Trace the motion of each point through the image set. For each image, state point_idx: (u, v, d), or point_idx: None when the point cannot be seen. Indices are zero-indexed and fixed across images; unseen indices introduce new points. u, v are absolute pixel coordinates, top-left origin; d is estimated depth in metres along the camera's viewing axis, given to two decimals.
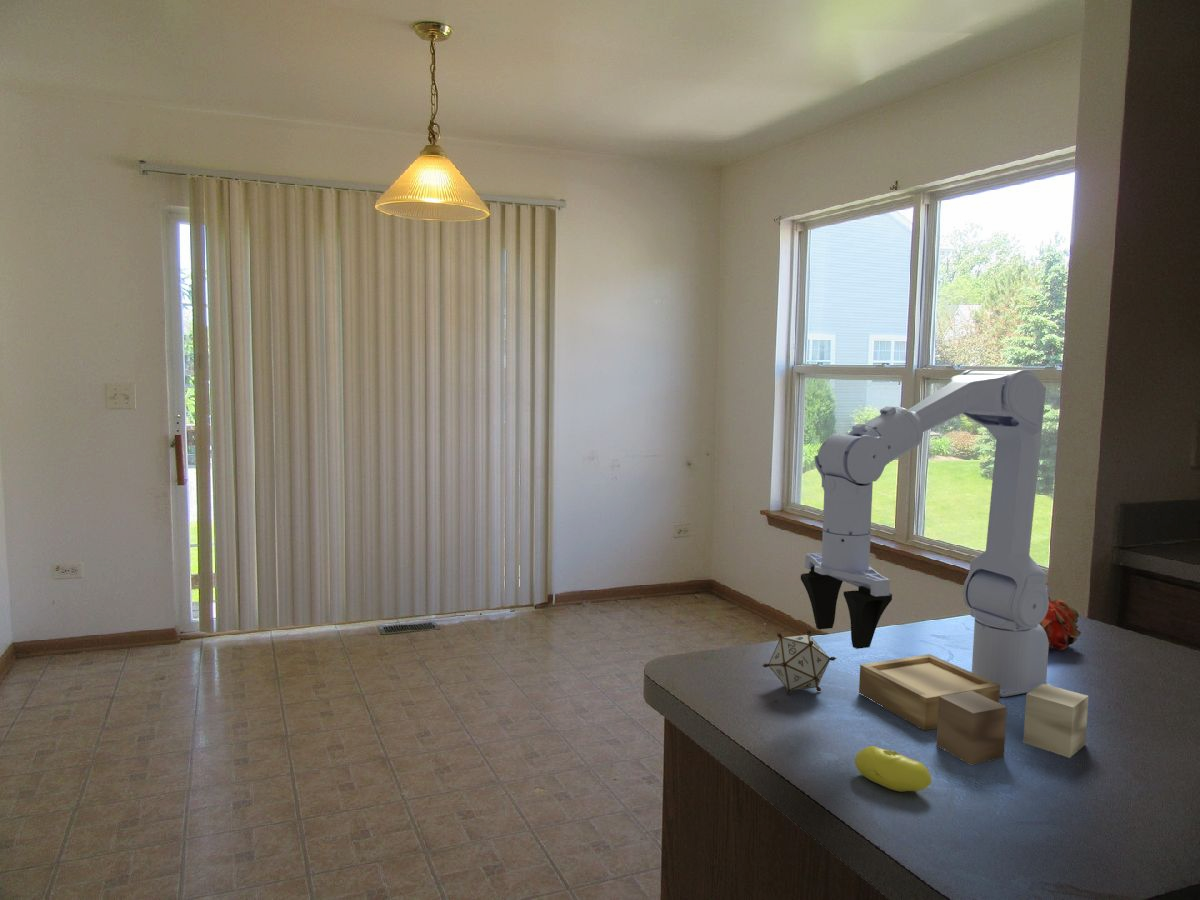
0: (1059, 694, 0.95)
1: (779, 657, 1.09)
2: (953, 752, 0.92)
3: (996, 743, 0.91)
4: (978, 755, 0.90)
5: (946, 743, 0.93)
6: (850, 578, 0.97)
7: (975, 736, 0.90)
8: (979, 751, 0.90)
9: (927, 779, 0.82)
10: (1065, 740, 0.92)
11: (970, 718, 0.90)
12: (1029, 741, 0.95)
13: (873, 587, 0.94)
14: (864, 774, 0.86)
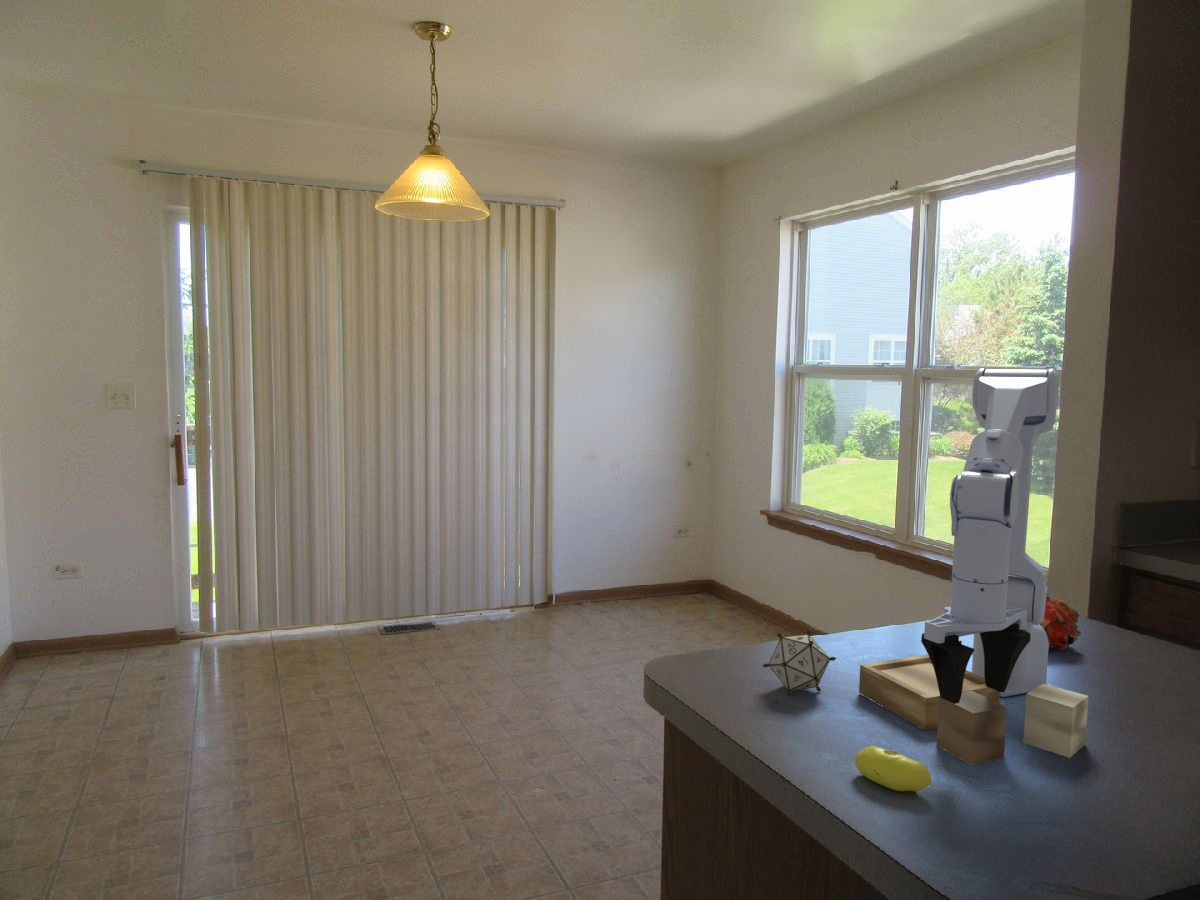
0: (1059, 694, 0.95)
1: (779, 657, 1.09)
2: (953, 752, 0.92)
3: (996, 743, 0.91)
4: (978, 755, 0.90)
5: (946, 743, 0.93)
6: None
7: (975, 736, 0.90)
8: (979, 751, 0.90)
9: (927, 779, 0.82)
10: (1065, 740, 0.92)
11: (970, 718, 0.90)
12: (1029, 741, 0.95)
13: None
14: (864, 773, 0.86)
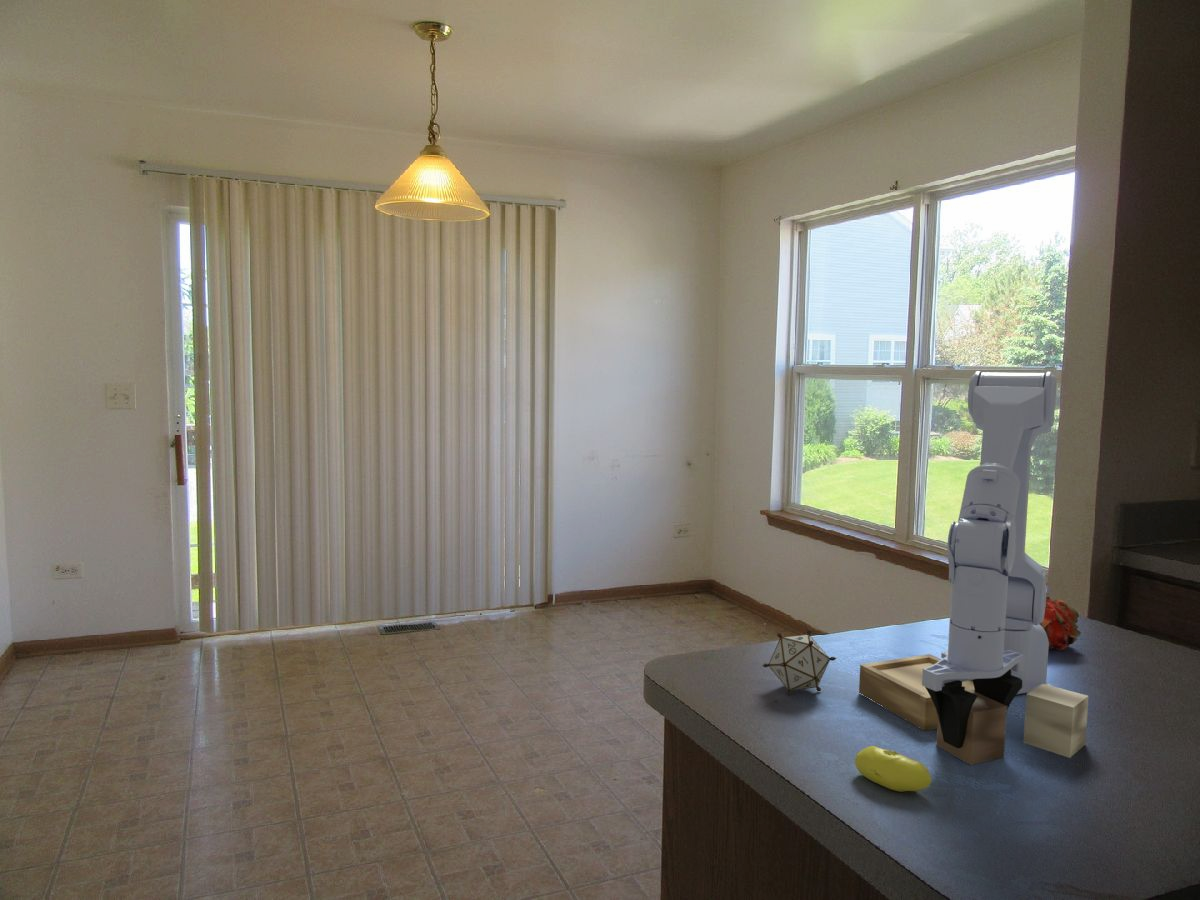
0: (1059, 694, 0.95)
1: (779, 657, 1.09)
2: (953, 751, 0.92)
3: (996, 743, 0.91)
4: (978, 755, 0.90)
5: None
6: None
7: (975, 735, 0.90)
8: (979, 750, 0.90)
9: (927, 779, 0.82)
10: (1065, 740, 0.92)
11: (970, 718, 0.90)
12: (1029, 741, 0.95)
13: None
14: (864, 774, 0.86)
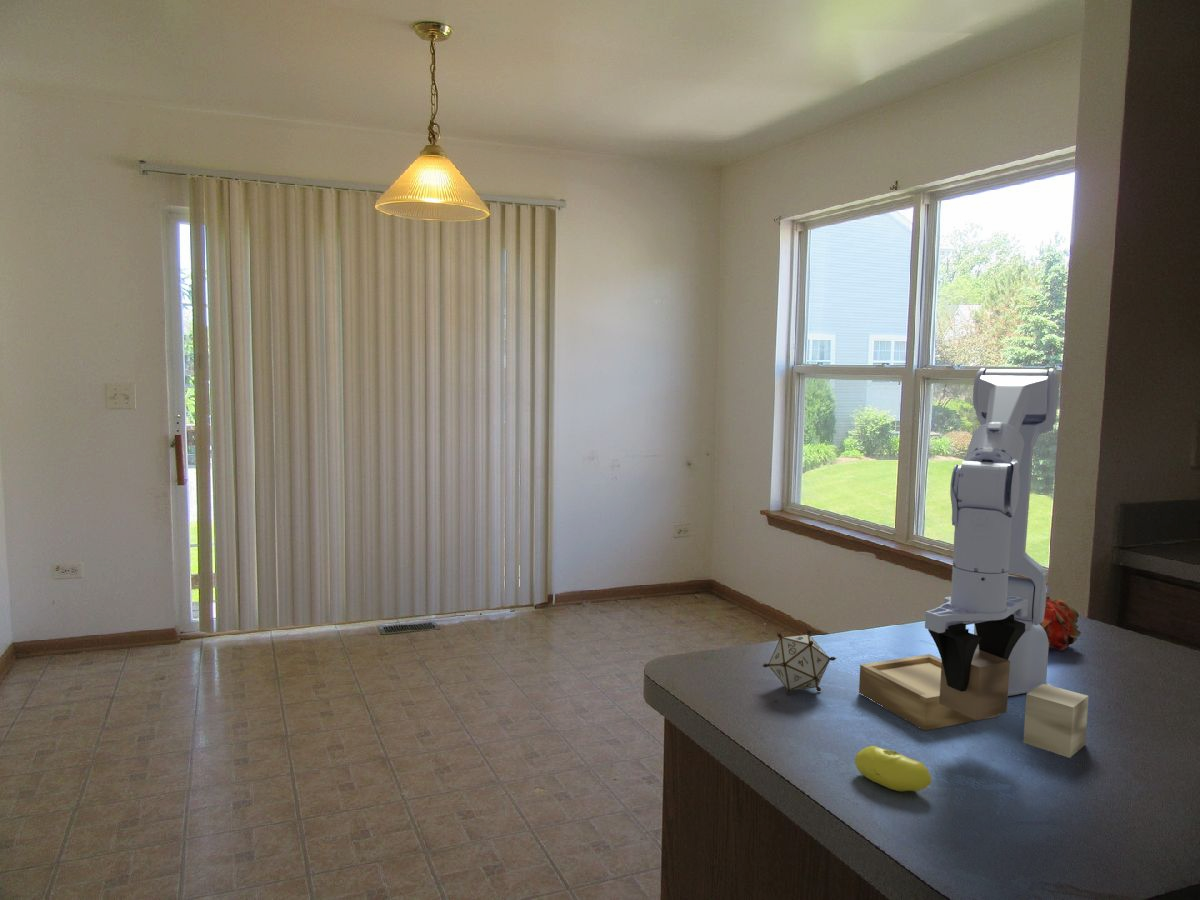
0: (1059, 694, 0.95)
1: (779, 657, 1.09)
2: (957, 708, 0.91)
3: (1000, 698, 0.91)
4: (983, 710, 0.90)
5: (950, 699, 0.92)
6: None
7: (981, 690, 0.89)
8: (984, 706, 0.90)
9: (927, 779, 0.82)
10: (1065, 740, 0.92)
11: (976, 673, 0.89)
12: (1029, 741, 0.95)
13: None
14: (864, 773, 0.86)
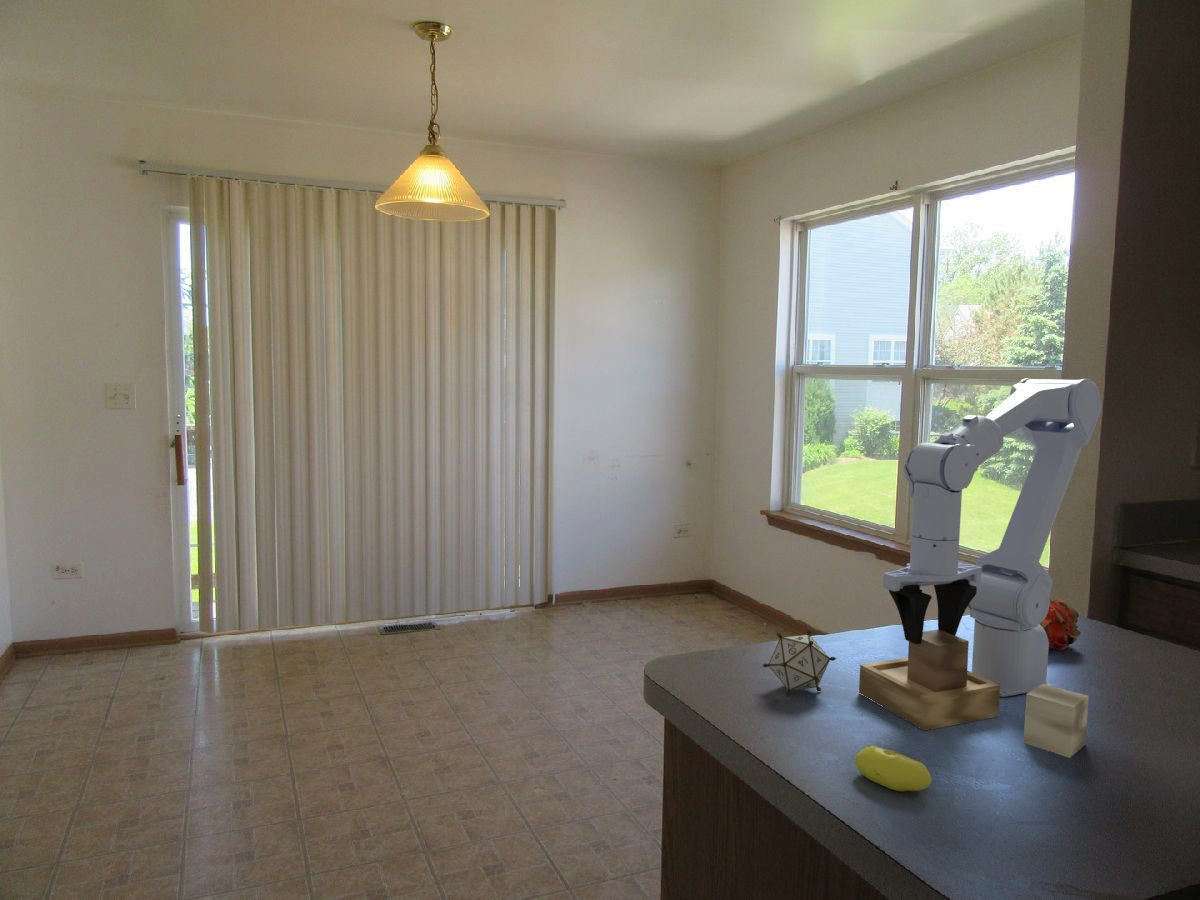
0: (1059, 694, 0.95)
1: (779, 657, 1.09)
2: (921, 682, 1.03)
3: (960, 673, 1.02)
4: (943, 684, 1.01)
5: (916, 674, 1.04)
6: None
7: (940, 666, 1.01)
8: (944, 680, 1.01)
9: (927, 779, 0.82)
10: (1065, 740, 0.92)
11: (935, 651, 1.01)
12: (1029, 741, 0.95)
13: None
14: (864, 773, 0.86)
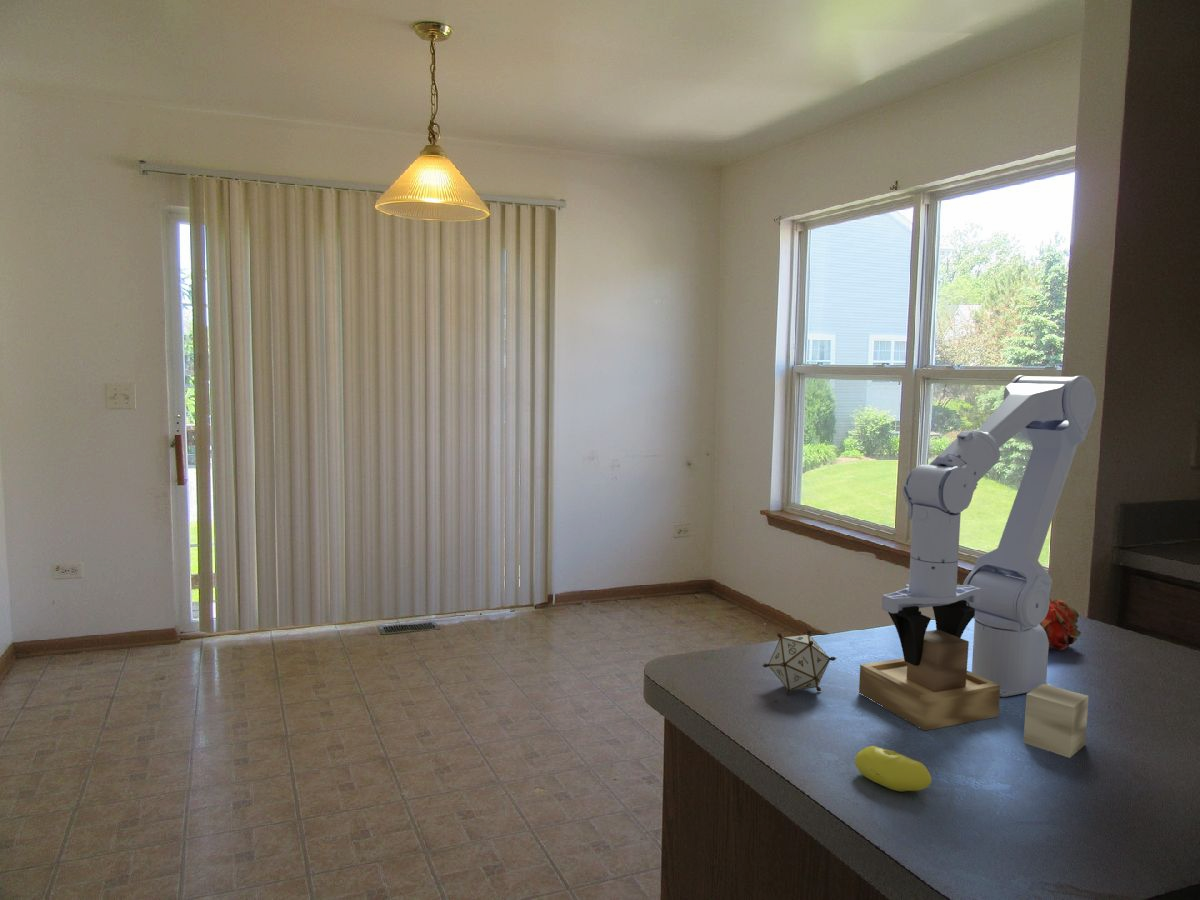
0: (1059, 694, 0.95)
1: (779, 657, 1.09)
2: (921, 682, 1.03)
3: (959, 674, 1.02)
4: (942, 684, 1.01)
5: (915, 674, 1.04)
6: None
7: (939, 666, 1.01)
8: (943, 680, 1.01)
9: (927, 779, 0.82)
10: (1065, 740, 0.92)
11: (935, 650, 1.01)
12: (1029, 741, 0.95)
13: None
14: (864, 774, 0.86)
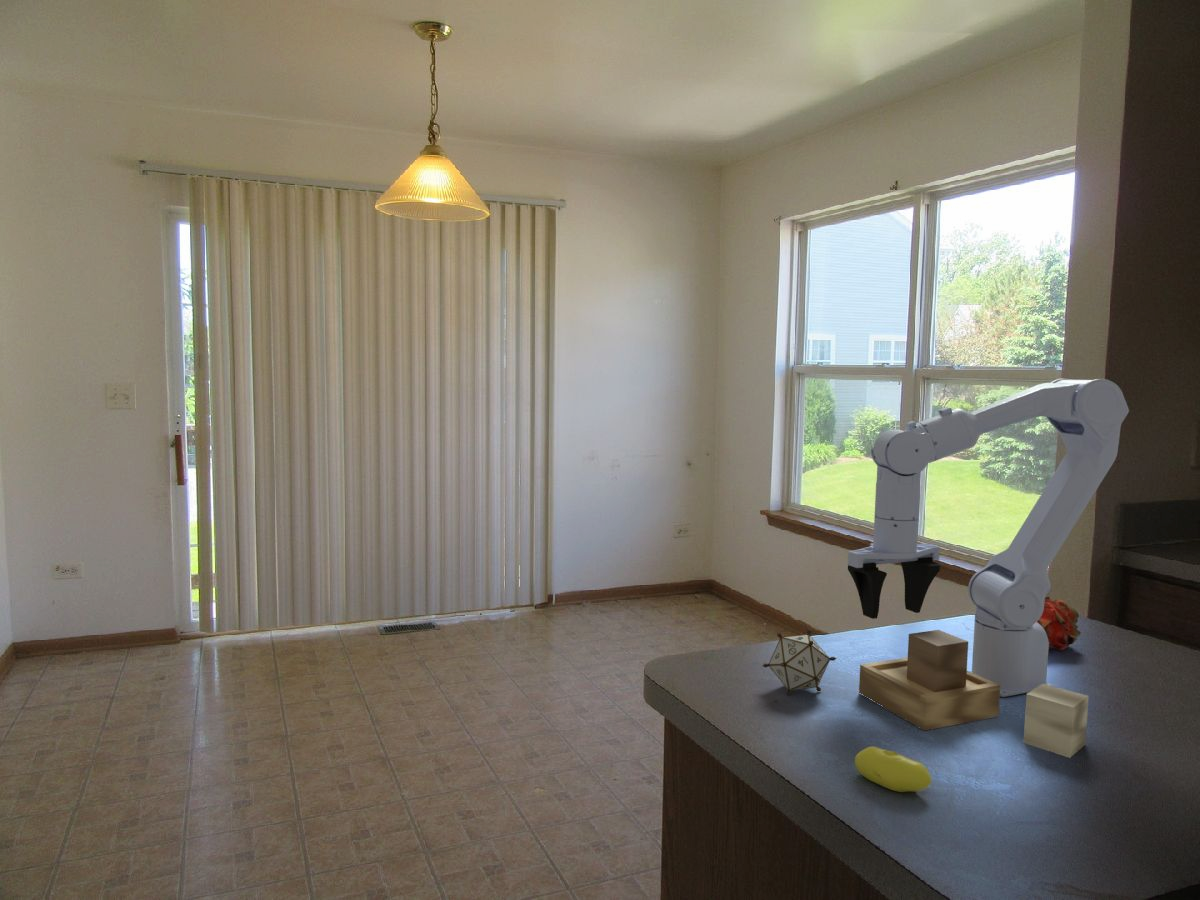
0: (1059, 694, 0.95)
1: (779, 657, 1.09)
2: (921, 682, 1.03)
3: (959, 674, 1.02)
4: (942, 684, 1.01)
5: (915, 674, 1.04)
6: None
7: (939, 666, 1.01)
8: (943, 680, 1.01)
9: (927, 779, 0.82)
10: (1065, 740, 0.92)
11: (935, 651, 1.01)
12: (1029, 741, 0.95)
13: None
14: (864, 774, 0.86)
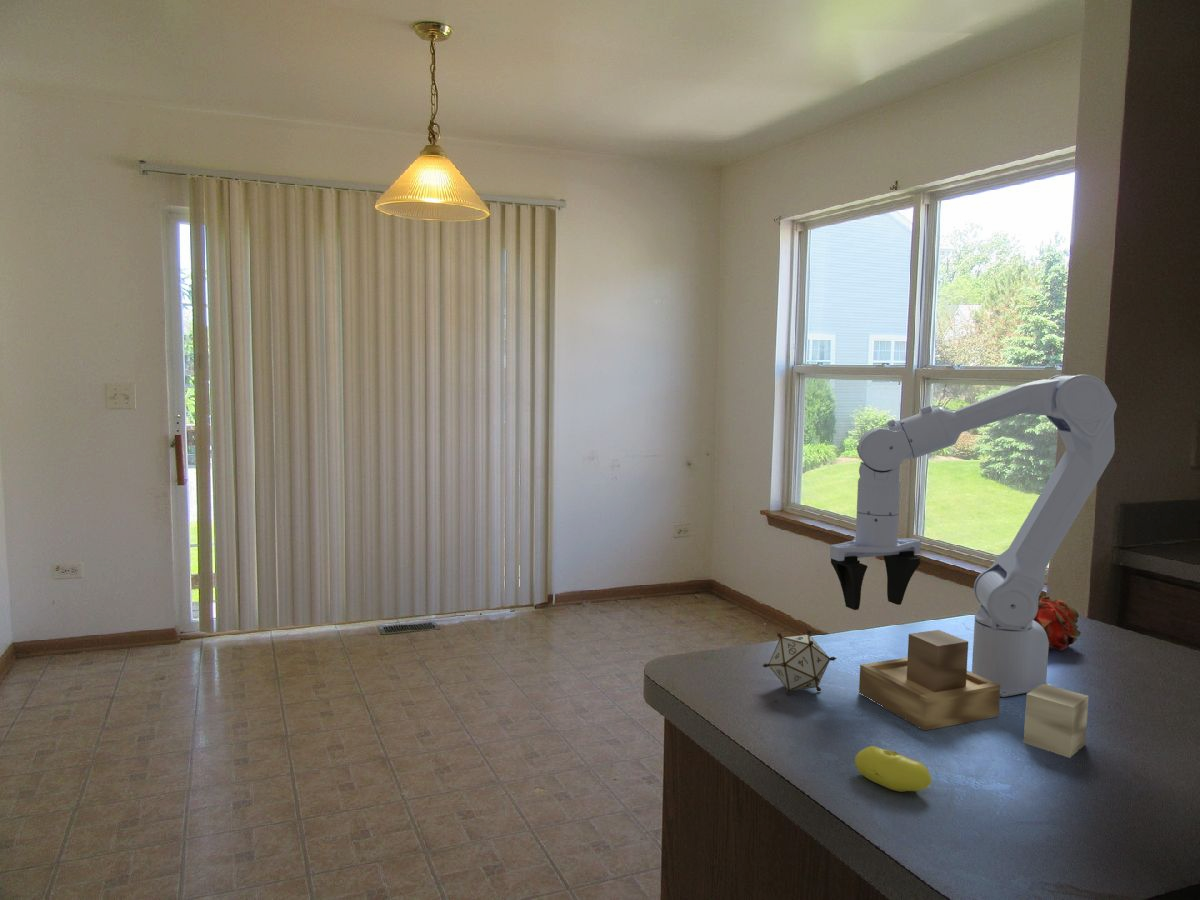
0: (1059, 694, 0.95)
1: (779, 657, 1.09)
2: (921, 682, 1.03)
3: (959, 674, 1.02)
4: (942, 684, 1.01)
5: (915, 674, 1.04)
6: None
7: (939, 666, 1.01)
8: (943, 680, 1.01)
9: (927, 779, 0.82)
10: (1065, 740, 0.92)
11: (935, 651, 1.01)
12: (1029, 741, 0.95)
13: None
14: (864, 774, 0.86)
